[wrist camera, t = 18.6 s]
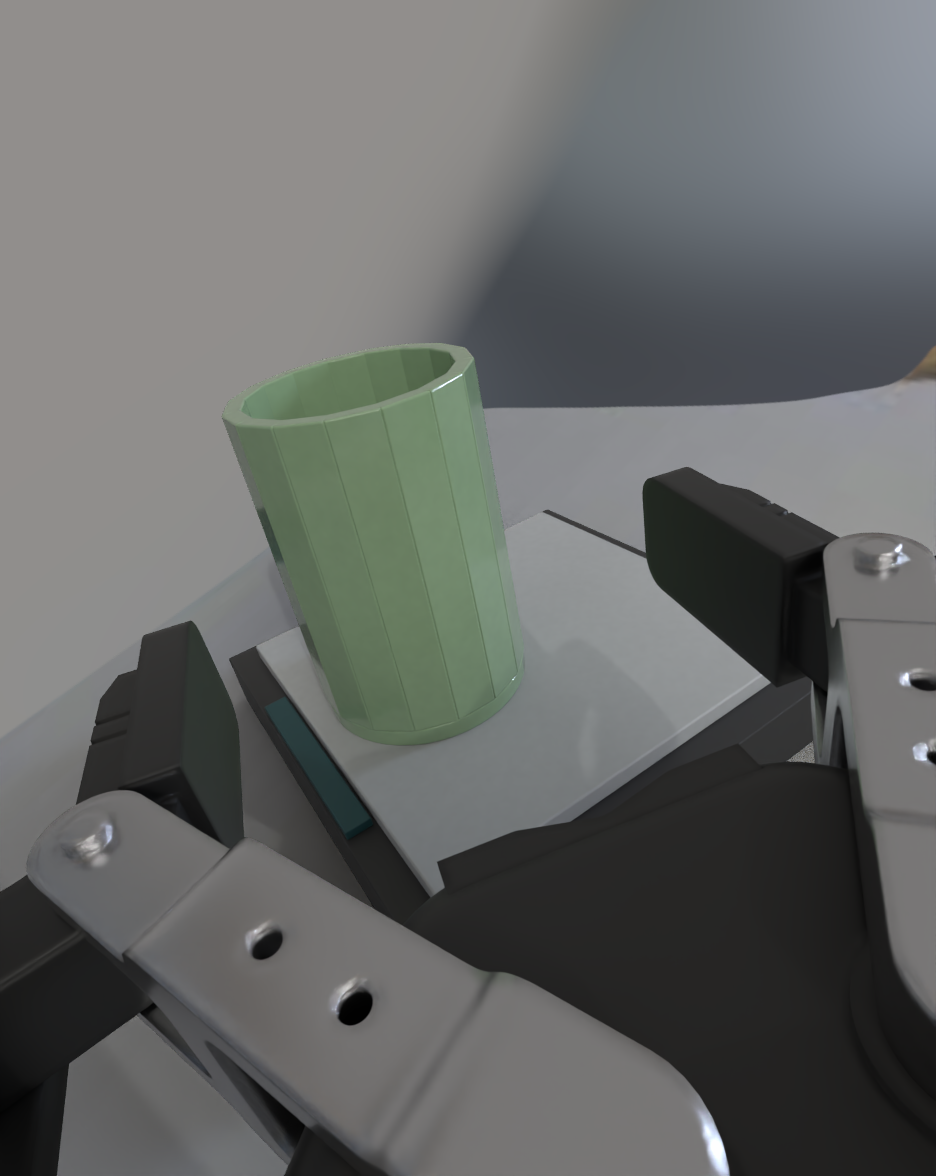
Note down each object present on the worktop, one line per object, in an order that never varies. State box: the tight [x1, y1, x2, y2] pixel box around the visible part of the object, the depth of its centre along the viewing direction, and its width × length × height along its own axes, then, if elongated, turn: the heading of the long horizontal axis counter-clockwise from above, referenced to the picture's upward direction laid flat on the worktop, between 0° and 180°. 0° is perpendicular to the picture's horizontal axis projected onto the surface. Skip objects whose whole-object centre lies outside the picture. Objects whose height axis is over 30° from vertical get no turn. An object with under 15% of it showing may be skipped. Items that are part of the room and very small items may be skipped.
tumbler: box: [222, 343, 525, 746], centre depth 21 cm, size 7×7×10 cm
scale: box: [229, 510, 813, 925], centre depth 25 cm, size 16×16×3 cm
